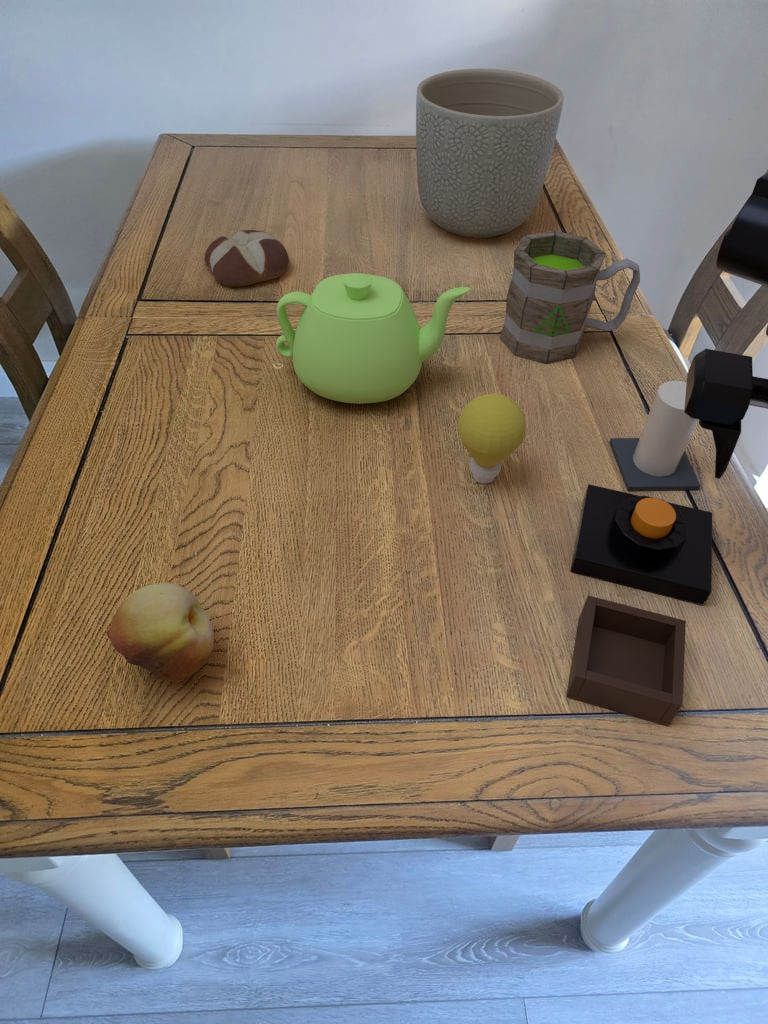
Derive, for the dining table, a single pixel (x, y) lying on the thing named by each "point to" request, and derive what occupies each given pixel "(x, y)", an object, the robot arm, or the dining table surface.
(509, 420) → the light bulb
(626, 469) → the mat
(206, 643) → the fruit
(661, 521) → the button
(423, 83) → the planter
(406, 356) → the teapot
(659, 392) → the canister
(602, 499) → the base
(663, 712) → the holder
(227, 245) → the bread
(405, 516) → the dining table surface
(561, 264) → the mug
